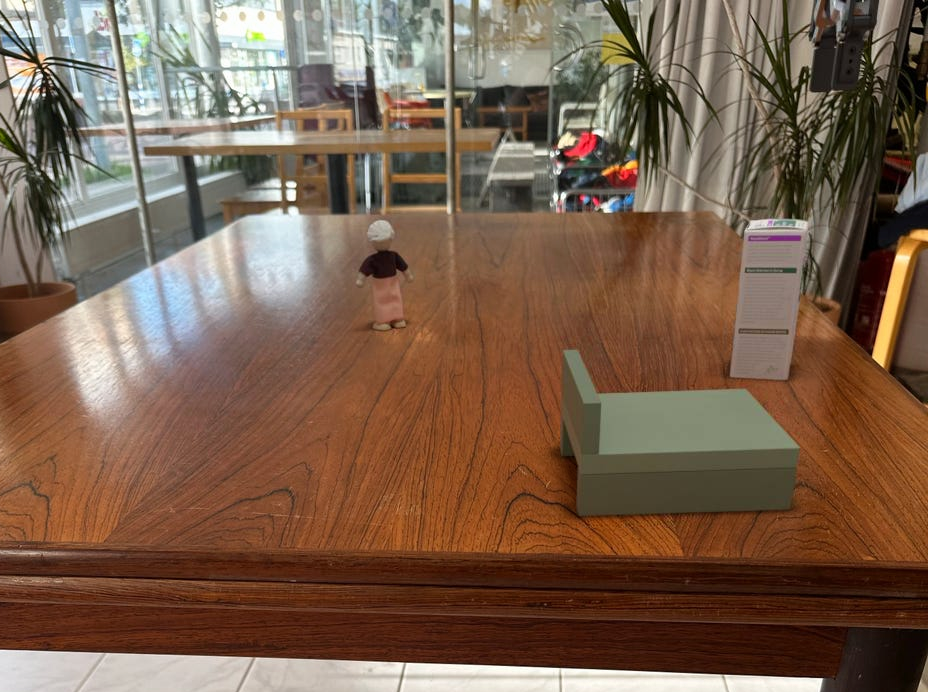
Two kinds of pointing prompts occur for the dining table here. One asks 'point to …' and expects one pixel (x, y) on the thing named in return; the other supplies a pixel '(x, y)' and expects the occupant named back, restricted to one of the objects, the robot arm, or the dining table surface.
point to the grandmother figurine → (384, 277)
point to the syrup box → (768, 298)
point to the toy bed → (672, 449)
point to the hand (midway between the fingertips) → (831, 91)
